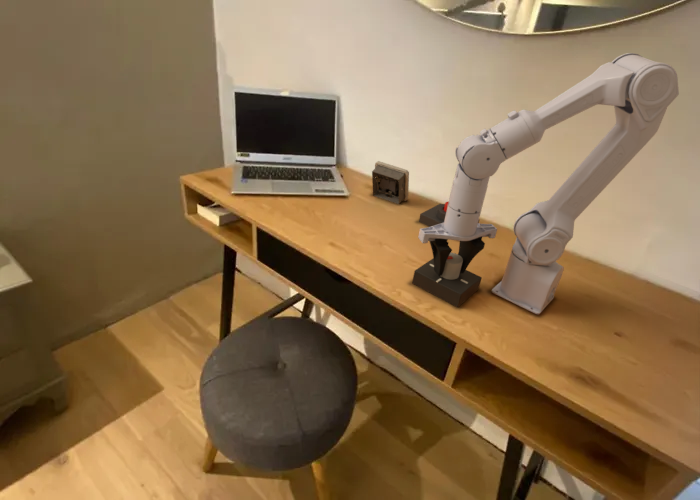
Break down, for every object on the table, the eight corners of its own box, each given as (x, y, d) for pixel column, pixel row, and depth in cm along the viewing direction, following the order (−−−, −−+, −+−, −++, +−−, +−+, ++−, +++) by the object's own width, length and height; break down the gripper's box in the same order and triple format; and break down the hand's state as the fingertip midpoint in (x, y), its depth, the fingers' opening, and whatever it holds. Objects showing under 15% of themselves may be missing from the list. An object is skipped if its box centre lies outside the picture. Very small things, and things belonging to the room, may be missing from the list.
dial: (452, 266, 91) (456, 250, 89) (462, 278, 88) (467, 261, 86) (434, 268, 90) (437, 251, 88) (443, 280, 87) (447, 263, 85)
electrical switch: (408, 200, 122) (412, 168, 117) (398, 209, 119) (402, 175, 113) (377, 190, 126) (379, 158, 121) (367, 198, 123) (369, 165, 117)
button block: (477, 227, 113) (481, 212, 111) (458, 239, 107) (462, 224, 105) (438, 211, 119) (441, 196, 117) (418, 221, 113) (421, 206, 110)
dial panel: (478, 289, 90) (482, 276, 89) (457, 308, 85) (460, 293, 83) (434, 267, 96) (437, 254, 94) (411, 283, 90) (414, 269, 89)
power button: (461, 211, 111) (463, 205, 110) (454, 216, 109) (455, 209, 108) (448, 206, 113) (450, 199, 112) (440, 210, 111) (442, 204, 110)
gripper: (489, 194, 87) (472, 257, 94) (417, 198, 83) (405, 263, 90) (510, 212, 81) (491, 277, 88) (434, 216, 77) (420, 284, 84)
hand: (448, 271), depth 89 cm, fingers closed on dial, 4 cm apart
